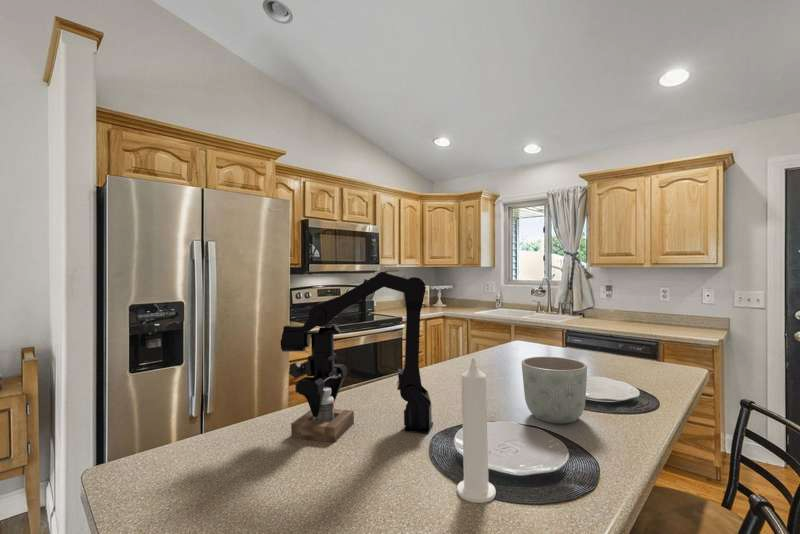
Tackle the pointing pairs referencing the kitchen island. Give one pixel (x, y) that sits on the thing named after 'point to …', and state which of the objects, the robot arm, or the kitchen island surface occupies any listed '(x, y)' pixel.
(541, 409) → the planter
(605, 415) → the kitchen island surface
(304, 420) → the socket block
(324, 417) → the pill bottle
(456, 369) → the kitchen island surface
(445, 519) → the kitchen island surface
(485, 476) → the candle
